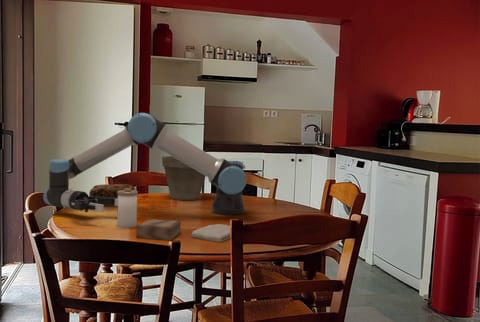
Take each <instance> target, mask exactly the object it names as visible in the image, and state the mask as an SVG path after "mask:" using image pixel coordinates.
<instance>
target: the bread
mask: <svg viewBox="0 0 480 322" xmlns="http://www.w3.org/2000/svg"><path fill="white" fill-rule="evenodd" d="M125 188H131V190H135V186H134V185H131V184H126V183H125V184H122V183H121V184H120V183H119V184H117V183H116V184H115V183H114V184H113V183H112V184H95V185H94V186H93V187H92V188H91V189H90V190H89V194H88V196H92V197H97V196H98V197H113V198H116V197H118V194H117V191H119V190H124V189H125ZM96 204H97V203H96ZM104 207H105V208H106V207H108V208H118V206H115V205H104V206H103V208H104Z"/></svg>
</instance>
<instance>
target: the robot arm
mask: <svg viewBox="0 0 480 322" xmlns="http://www.w3.org/2000/svg"><path fill="white" fill-rule="evenodd" d="M140 144H143V145H145V146H146V147H148V148H149V149H151V150H154V149H155V150H156V149H159V150H161V151H162V152H164V153H165V154H167V155H168V156H172V157H174V158H176V159H178V160H179V161H181V162H183V163H184V164H186V165H188V166H190V167H191V168H193V169H195V170H196V171H198V172H200V173H202V174H203V175H205V176H206V178H207V180H208V182H209V183H210V184H212V185H213V186H215V187H216V194H215V198H214V199H213V203H212V206H211V212H213V213H214V214H218V215H230V216H231V215H241V214H242V215H243V214H245V213H246V205H245V201H244V198H243V190H244V189H245V187H246V184H247V175H246V173H245V171H244V163H243V162H242V161H240V160H239V161H238V160H226V159H225V158H219V159H218V158H217V157H215V156H213V155H212V154H210V153H208V152H206V151H205V150H203V149H201V148H199V147H197V146H196V145H194V144H193V143H191V142H189V141H187V140H185V139H184V138H182V137H181V136H179V135H177V134H175V133H173V132H172V131H171V130H169V128H168V125H167V124H166V123H164V122H163V121H161V120H159V119H157V117H155V116H154V115H152V114H151V113H146V112H139V113H135V114H133V116H131V118H130V119H129V121H128V124H127V125H126V126H125V127H124V129H123V130H121V131H119V132H117V133H116V134H114V135H112V136H110V137H108V138H107V139H105V140H103V141H101V142H99V143H98V144H95V145H94V146H91V147H89V149H86V150H84V151H83V152H81V153H78V155H75V156H74V157H72V158H70V159H65V158H64V159H62V158H61V159H60V158H57V159H56V158H55V159H51V160H50V161H49V166H48V171H49V172H48V175H49V176H48V177H49V178H48V181H49V182H48V183H49V184H48V188H46V189H45V190H44V193H43V195H42V199H43V201H44V203H45V204H46V205H48V206H52V207H58V208H65V209H69V210H77V211H81V212H82V211H84V212H85V213H88V212H89V211H92V212H98V213H104V207H103V206H104V205H115V206H118V197H116V198H113V197H98V196H97V197H92V196H89V194H88V193H87V192H85V191H81V190H73V188H69V185H70V184H69V183H70V182H69V181H70V179H73V178H75V177H77V176H78V175H80V174H82V173H83V172H86V171H87V170H89V169H91V168H92V167H95V166H96V165H99V164H100V163H103V162H104V161H106V160H108V159H109V158H111V157H113V156H115V155H117V154H119V153H121V152H122V151H125V150H127V149H128V148H130V147H131V146H138V145H140ZM96 203H97V204H96Z"/></svg>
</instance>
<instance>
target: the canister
mask: <svg viewBox="0 0 480 322" xmlns="http://www.w3.org/2000/svg"><path fill="white" fill-rule="evenodd" d="M138 192H139V190H136V189H134V190H131V188H125V189H124V190H119V191H117V194H118V207H117V216H116V217H117V221H116V225H117V227H118V228H128V229H129V228H135V227H137V220H138V219H137V216H138V214H137V213H138V210H137V209H138V195H139V193H138Z"/></svg>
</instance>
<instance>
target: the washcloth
mask: <svg viewBox="0 0 480 322" xmlns="http://www.w3.org/2000/svg"><path fill="white" fill-rule="evenodd" d="M191 237H192V238H194V239H199V240H204V241H210V242H215V243H222V242H225V241H228V240H230V239H231V238H230V225H227V224H222V223H221V224H219V223H216V224H208V225H207V226H205V227H200V228H198V229H195V230H193V231H192V232H191Z"/></svg>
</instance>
